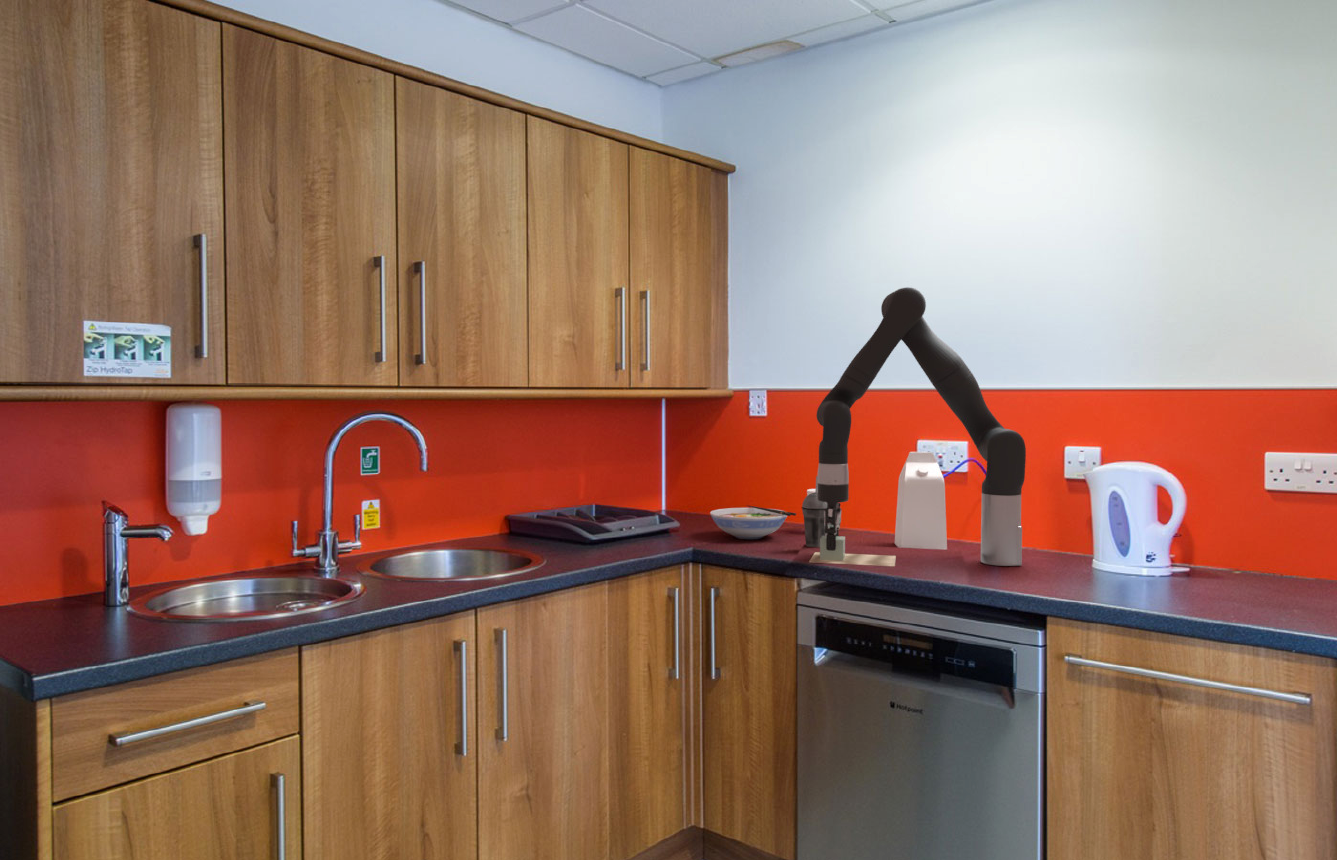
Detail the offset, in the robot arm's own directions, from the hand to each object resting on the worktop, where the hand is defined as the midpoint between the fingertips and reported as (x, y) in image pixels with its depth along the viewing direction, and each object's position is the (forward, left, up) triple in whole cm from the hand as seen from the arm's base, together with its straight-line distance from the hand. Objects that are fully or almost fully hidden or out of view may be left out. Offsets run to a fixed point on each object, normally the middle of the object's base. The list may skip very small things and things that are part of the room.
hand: (832, 547), depth 223 cm
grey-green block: (0, 0, -3) cm, 3 cm away
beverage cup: (+6, -17, -4) cm, 19 cm away
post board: (-5, 0, -4) cm, 6 cm away
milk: (-21, -31, -4) cm, 38 cm away
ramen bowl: (+27, -35, -4) cm, 44 cm away
